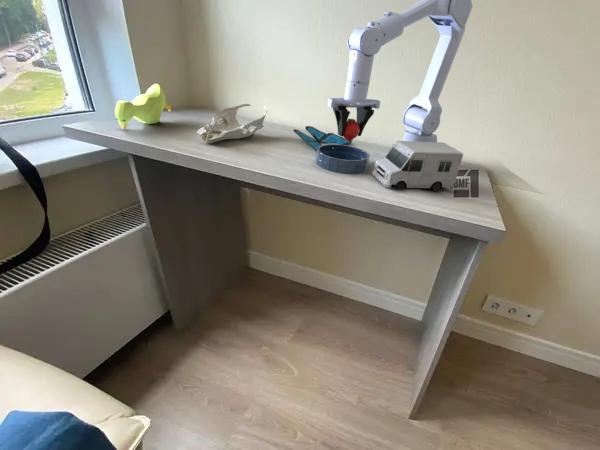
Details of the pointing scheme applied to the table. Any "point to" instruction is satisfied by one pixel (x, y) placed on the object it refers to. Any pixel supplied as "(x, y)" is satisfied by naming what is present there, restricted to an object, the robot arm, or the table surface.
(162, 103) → the toy
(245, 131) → the anatomical model
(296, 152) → the table surface
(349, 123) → the tomato
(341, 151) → the bowl
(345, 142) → the decorative butterfly
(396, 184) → the toy truck
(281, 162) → the table surface
